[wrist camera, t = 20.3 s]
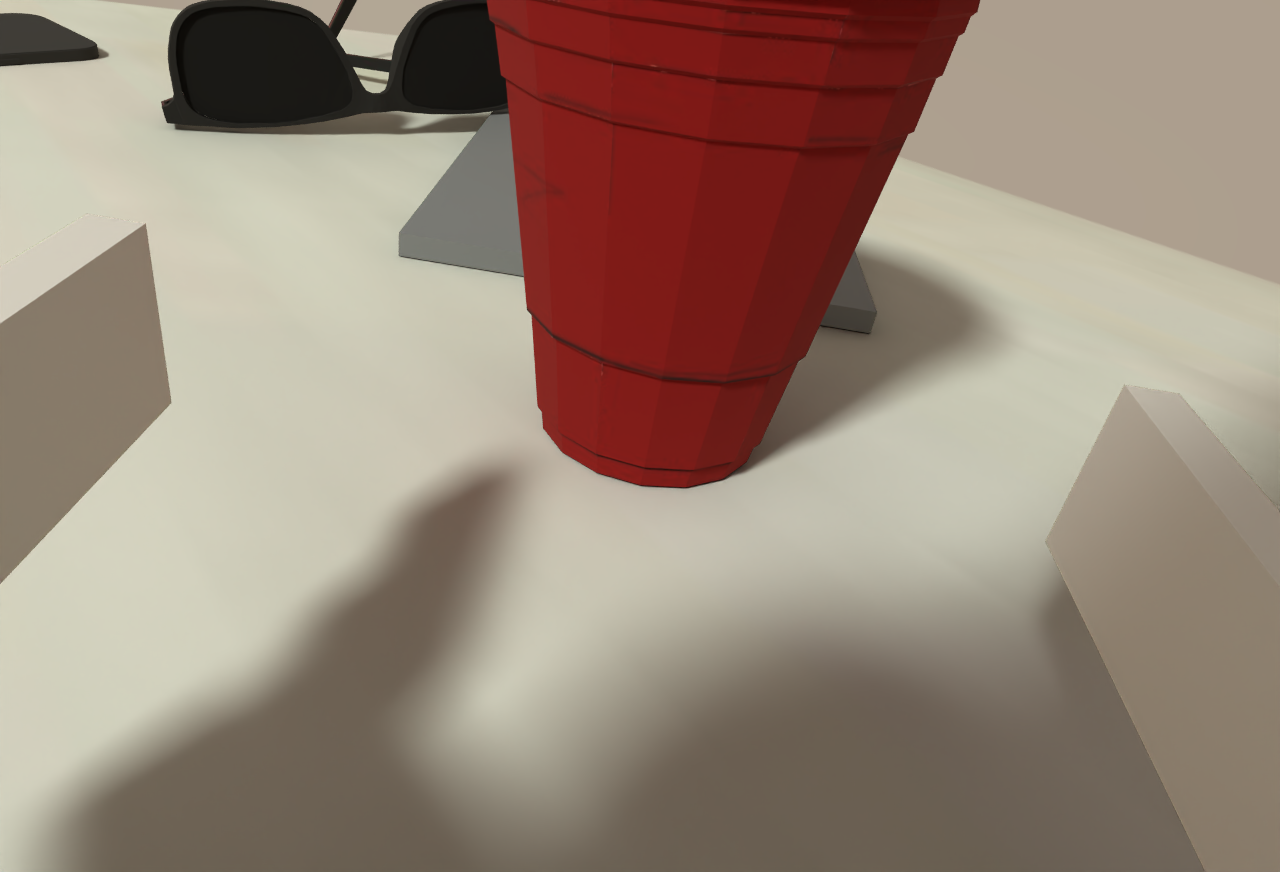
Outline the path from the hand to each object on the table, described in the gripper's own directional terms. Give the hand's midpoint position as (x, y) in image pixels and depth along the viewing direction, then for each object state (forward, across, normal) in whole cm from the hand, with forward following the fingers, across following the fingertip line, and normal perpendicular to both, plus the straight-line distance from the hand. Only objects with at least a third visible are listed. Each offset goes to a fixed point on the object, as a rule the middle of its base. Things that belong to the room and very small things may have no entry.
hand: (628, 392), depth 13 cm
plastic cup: (+10, +1, -7) cm, 12 cm away
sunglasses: (+36, -16, -6) cm, 40 cm away
